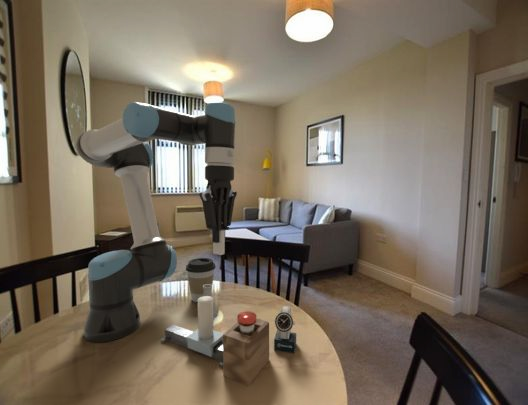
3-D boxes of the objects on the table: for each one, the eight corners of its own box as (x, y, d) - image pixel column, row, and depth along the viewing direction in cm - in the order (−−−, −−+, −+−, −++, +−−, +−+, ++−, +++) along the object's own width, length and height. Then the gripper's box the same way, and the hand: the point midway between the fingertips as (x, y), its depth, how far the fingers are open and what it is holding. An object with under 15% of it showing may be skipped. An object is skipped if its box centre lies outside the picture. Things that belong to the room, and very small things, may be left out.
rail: (161, 342, 75) (160, 331, 74) (177, 331, 80) (176, 322, 80) (223, 367, 64) (223, 356, 64) (237, 353, 69) (237, 342, 69)
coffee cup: (222, 296, 104) (221, 259, 103) (201, 308, 95) (200, 267, 94) (201, 290, 110) (200, 255, 109) (179, 300, 101) (179, 262, 100)
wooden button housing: (223, 375, 62) (222, 334, 61) (245, 351, 70) (245, 315, 70) (248, 386, 58) (248, 343, 58) (269, 359, 67) (269, 322, 66)
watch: (272, 354, 69) (272, 314, 68) (278, 337, 77) (278, 301, 76) (293, 358, 68) (294, 317, 67) (297, 340, 76) (297, 303, 75)
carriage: (186, 348, 70) (185, 300, 69) (202, 336, 75) (201, 292, 74) (210, 357, 66) (209, 307, 65) (224, 344, 71) (224, 298, 70)
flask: (213, 320, 86) (213, 291, 86) (193, 318, 88) (192, 289, 87) (221, 309, 94) (221, 282, 93) (202, 307, 95) (202, 281, 94)
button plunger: (233, 342, 63) (233, 318, 63) (244, 333, 67) (244, 309, 67) (250, 348, 61) (250, 322, 60) (259, 338, 65) (259, 314, 64)
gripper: (215, 163, 61) (214, 262, 63) (245, 166, 72) (243, 250, 74) (191, 163, 64) (190, 257, 67) (223, 166, 76) (222, 246, 78)
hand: (218, 253), depth 70 cm, fingers closed
